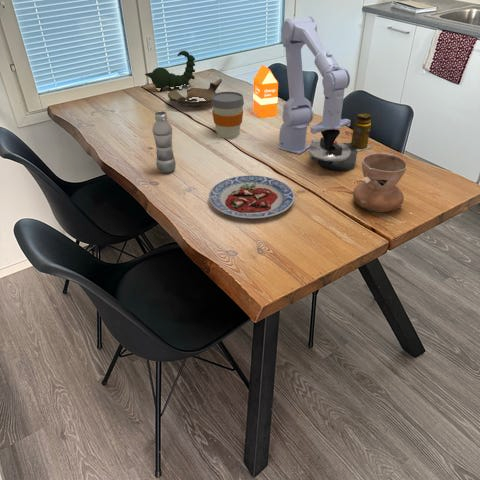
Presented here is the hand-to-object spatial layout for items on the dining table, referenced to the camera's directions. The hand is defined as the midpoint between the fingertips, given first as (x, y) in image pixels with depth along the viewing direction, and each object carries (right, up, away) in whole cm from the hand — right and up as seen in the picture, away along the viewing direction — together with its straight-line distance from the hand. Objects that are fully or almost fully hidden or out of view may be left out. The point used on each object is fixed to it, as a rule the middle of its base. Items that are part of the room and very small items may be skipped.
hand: (327, 150), depth 151 cm
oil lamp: (-48, +34, +61) cm, 85 cm away
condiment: (+15, +5, +20) cm, 26 cm away
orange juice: (-18, +25, +49) cm, 58 cm away
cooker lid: (+1, 0, +4) cm, 4 cm away
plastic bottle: (-54, -6, +4) cm, 55 cm away
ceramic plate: (-26, -18, -12) cm, 34 cm away
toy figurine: (-63, +46, +79) cm, 111 cm away
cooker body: (+3, -2, +9) cm, 10 cm away
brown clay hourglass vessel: (+12, -19, -14) cm, 27 cm away
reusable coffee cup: (-34, +12, +31) cm, 47 cm away
